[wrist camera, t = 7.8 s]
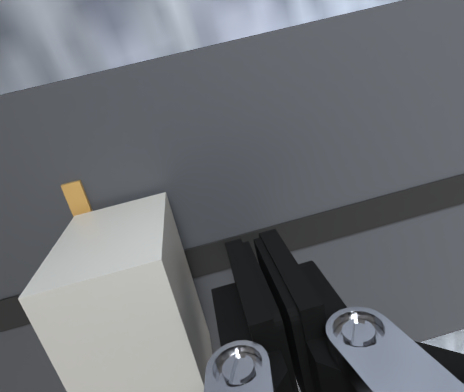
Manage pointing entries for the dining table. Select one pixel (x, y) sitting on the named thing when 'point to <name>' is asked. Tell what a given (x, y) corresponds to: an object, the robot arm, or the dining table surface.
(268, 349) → the robot arm
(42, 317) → the fader
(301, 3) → the dining table surface
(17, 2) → the dining table surface
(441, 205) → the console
